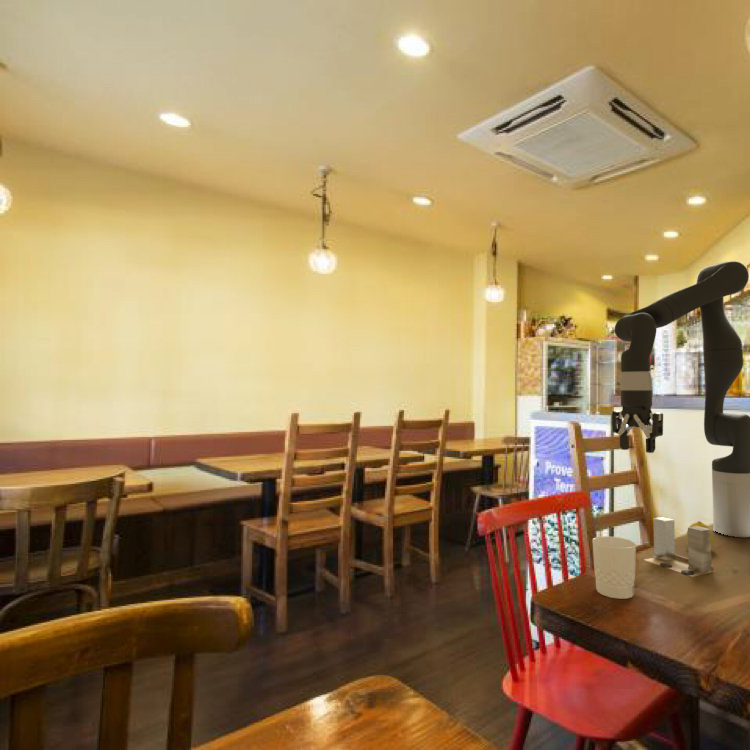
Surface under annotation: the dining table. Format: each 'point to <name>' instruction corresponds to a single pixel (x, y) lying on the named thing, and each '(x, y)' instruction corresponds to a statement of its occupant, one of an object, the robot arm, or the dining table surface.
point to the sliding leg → (664, 539)
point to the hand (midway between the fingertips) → (637, 450)
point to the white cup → (614, 566)
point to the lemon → (703, 527)
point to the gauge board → (692, 554)
